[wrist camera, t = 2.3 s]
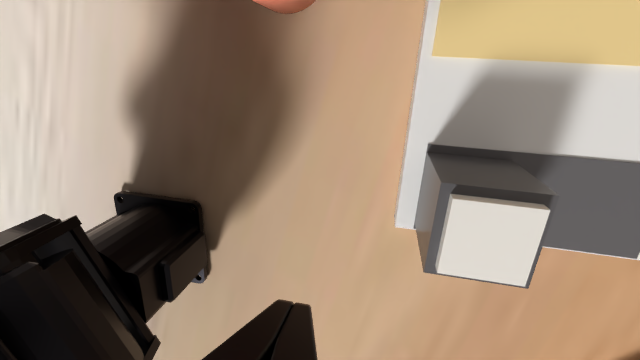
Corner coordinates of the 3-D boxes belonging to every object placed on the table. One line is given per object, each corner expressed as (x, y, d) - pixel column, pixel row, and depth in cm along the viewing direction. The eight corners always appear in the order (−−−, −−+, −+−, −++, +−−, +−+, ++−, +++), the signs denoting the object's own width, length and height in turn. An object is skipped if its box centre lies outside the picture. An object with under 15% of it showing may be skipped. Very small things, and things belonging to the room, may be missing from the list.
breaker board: (394, 215, 19) (394, 228, 18) (442, -117, 14) (450, -140, 12) (661, 250, 17) (689, 268, 15) (848, -133, 11) (922, -165, 10)
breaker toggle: (414, 223, 17) (424, 279, 13) (427, 152, 16) (443, 187, 11) (493, 233, 17) (533, 297, 12) (512, 160, 15) (567, 201, 11)
